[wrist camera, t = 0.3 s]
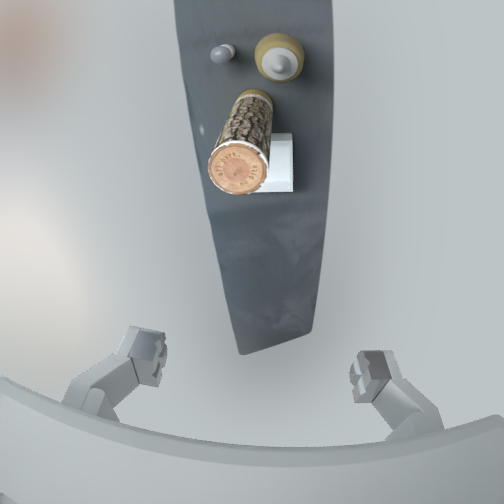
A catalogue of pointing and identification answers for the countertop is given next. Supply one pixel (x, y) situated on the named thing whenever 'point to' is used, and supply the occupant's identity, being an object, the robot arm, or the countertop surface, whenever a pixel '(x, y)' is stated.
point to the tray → (280, 164)
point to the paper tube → (244, 145)
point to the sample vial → (222, 53)
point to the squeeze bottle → (279, 57)
